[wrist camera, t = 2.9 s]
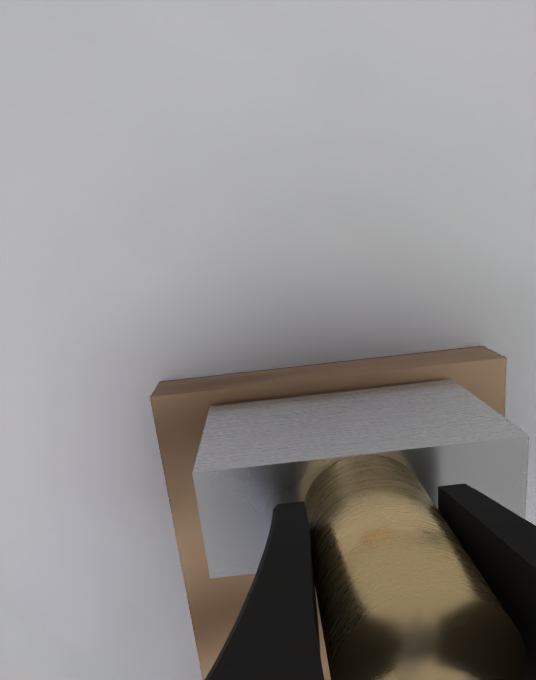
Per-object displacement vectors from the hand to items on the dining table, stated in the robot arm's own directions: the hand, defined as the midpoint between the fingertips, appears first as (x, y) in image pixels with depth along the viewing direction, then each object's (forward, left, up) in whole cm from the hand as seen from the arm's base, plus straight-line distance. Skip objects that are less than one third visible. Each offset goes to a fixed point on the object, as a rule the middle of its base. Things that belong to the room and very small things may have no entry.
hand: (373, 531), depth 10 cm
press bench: (-8, 0, -7) cm, 11 cm away
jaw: (0, 0, -5) cm, 5 cm away
